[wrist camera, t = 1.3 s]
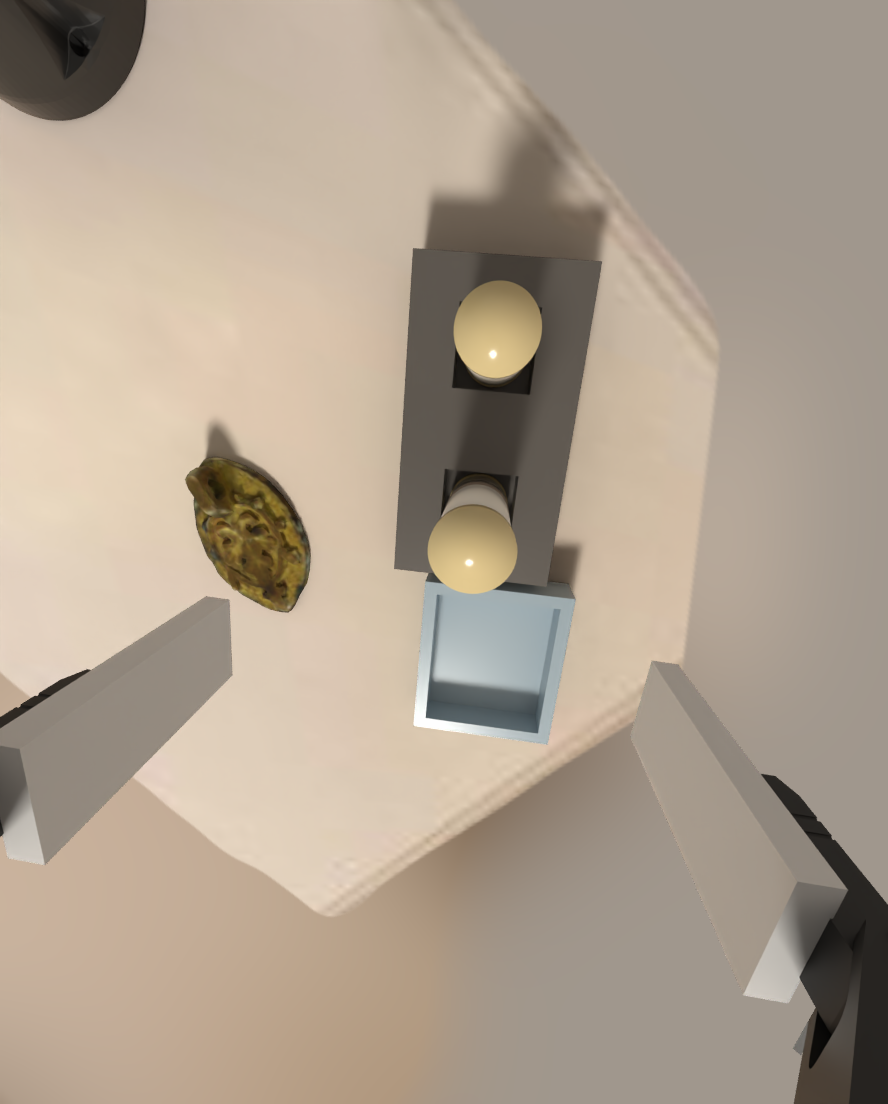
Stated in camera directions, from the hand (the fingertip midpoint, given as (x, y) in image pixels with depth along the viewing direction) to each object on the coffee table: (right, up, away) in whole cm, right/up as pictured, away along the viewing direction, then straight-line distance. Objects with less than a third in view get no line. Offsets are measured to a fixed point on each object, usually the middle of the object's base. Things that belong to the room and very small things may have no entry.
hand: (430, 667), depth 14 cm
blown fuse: (+3, +8, +22) cm, 24 cm away
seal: (-17, +5, +27) cm, 32 cm away
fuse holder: (+4, +13, +22) cm, 26 cm away
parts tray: (+5, -5, +27) cm, 28 cm away
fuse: (+4, +18, +19) cm, 27 cm away
